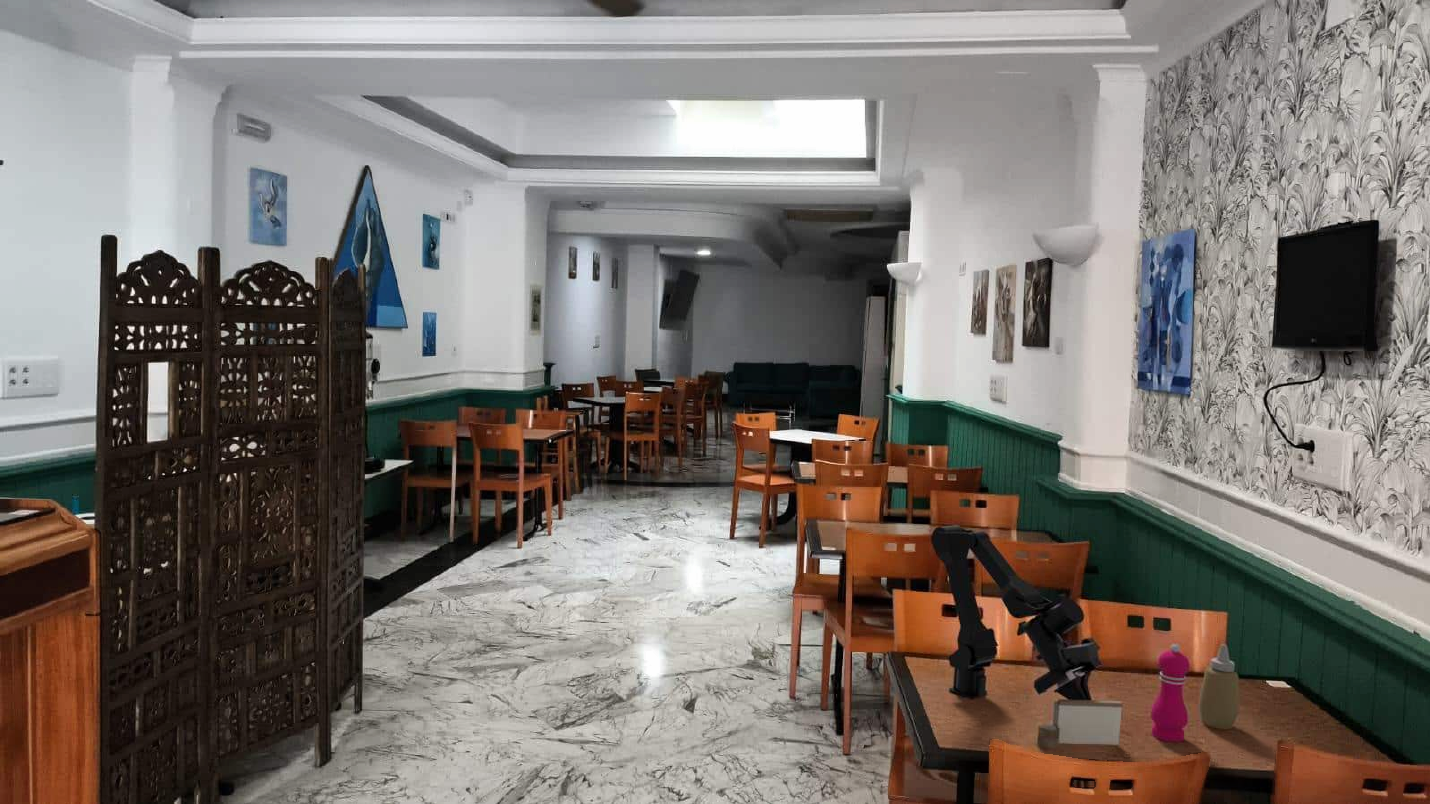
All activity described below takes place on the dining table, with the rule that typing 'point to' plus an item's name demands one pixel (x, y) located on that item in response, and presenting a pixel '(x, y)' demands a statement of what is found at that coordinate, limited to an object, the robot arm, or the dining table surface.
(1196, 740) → the dining table surface
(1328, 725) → the dining table surface
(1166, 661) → the pepper mill
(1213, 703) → the squeeze bottle
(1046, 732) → the gate frame
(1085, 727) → the gate
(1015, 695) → the dining table surface
